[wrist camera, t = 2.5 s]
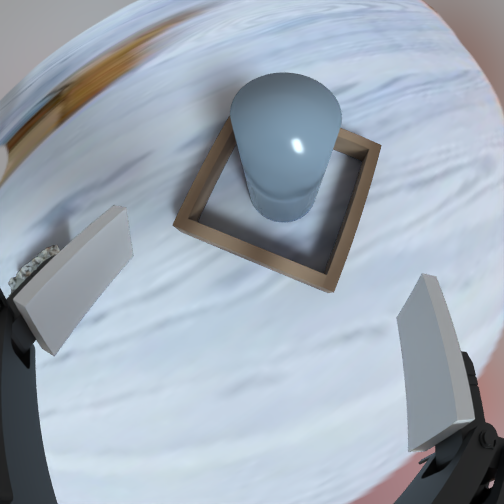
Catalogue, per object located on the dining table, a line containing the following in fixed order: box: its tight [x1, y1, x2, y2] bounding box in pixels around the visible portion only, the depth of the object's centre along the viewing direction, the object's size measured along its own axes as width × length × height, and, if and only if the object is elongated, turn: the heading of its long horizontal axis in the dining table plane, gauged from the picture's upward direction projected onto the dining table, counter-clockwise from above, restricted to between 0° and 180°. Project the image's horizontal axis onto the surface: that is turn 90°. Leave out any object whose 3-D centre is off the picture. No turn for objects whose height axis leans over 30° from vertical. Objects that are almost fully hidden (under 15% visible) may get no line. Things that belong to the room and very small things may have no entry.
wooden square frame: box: [173, 116, 381, 293], centre depth 25 cm, size 14×14×2 cm
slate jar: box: [230, 73, 342, 222], centre depth 20 cm, size 6×6×12 cm
